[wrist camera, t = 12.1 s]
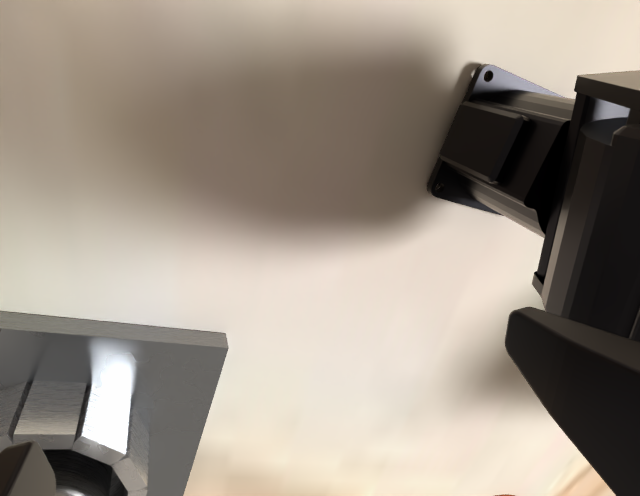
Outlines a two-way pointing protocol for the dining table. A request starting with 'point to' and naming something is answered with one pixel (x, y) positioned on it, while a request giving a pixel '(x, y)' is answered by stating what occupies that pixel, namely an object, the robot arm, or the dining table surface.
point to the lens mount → (110, 394)
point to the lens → (78, 473)
